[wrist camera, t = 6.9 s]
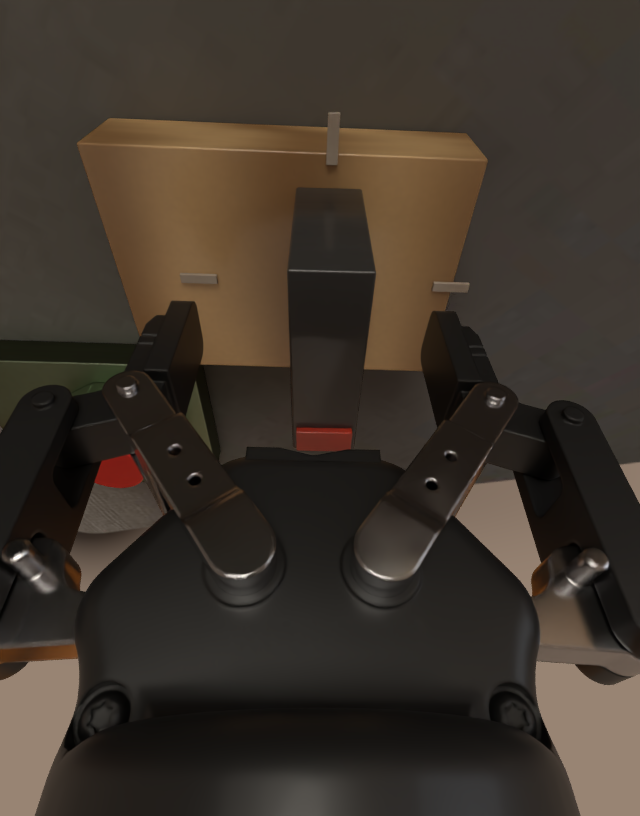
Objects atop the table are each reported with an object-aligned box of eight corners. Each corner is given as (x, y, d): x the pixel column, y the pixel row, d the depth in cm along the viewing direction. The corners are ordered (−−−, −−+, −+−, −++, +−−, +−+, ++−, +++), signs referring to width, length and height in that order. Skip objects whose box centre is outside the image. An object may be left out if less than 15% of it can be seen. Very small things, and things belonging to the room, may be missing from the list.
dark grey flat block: (296, 186, 14) (286, 275, 10) (362, 188, 14) (377, 277, 10) (298, 352, 19) (292, 454, 15) (347, 353, 19) (354, 455, 15)
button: (97, 462, 25) (86, 487, 24) (74, 420, 23) (60, 447, 21) (159, 463, 25) (151, 489, 24) (144, 422, 23) (134, 448, 21)
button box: (42, 446, 29) (17, 490, 27) (-32, 338, 23) (-73, 384, 20) (220, 450, 29) (212, 494, 27) (199, 345, 23) (184, 391, 21)
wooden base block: (169, 342, 23) (152, 383, 21) (98, 79, 15) (59, 101, 13) (425, 350, 23) (435, 391, 21) (493, 97, 15) (522, 121, 13)
